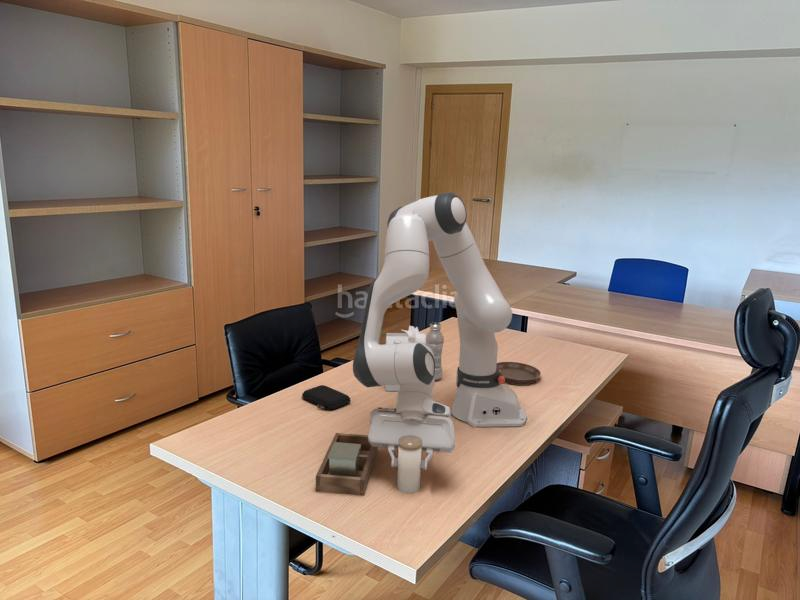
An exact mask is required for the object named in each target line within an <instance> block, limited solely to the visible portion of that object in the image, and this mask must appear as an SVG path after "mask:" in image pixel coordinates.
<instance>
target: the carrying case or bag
mask: <svg viewBox="0 0 800 600" xmlns="http://www.w3.org/2000/svg"><path fill="white" fill-rule="evenodd" d="M301 397H302V399H303V400H305V401H307V402H310V403H311V404H313V405H316V406H317V408H320V409H321V408H322V409H325V410H326V409H327V411H334V410H337V409H339V408H341V407H342V408H343V407H344V405H345V406H346V405H348V404H349V403H351V397H349V395H347V394H346V393H344V392H341V391H339V390H336V389H335V388H331V387H329V386H327V385H324V384H321V385H317V386H314V387H312V388H308V389H305V390H304V391H303V392H302V394H301Z"/></svg>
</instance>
